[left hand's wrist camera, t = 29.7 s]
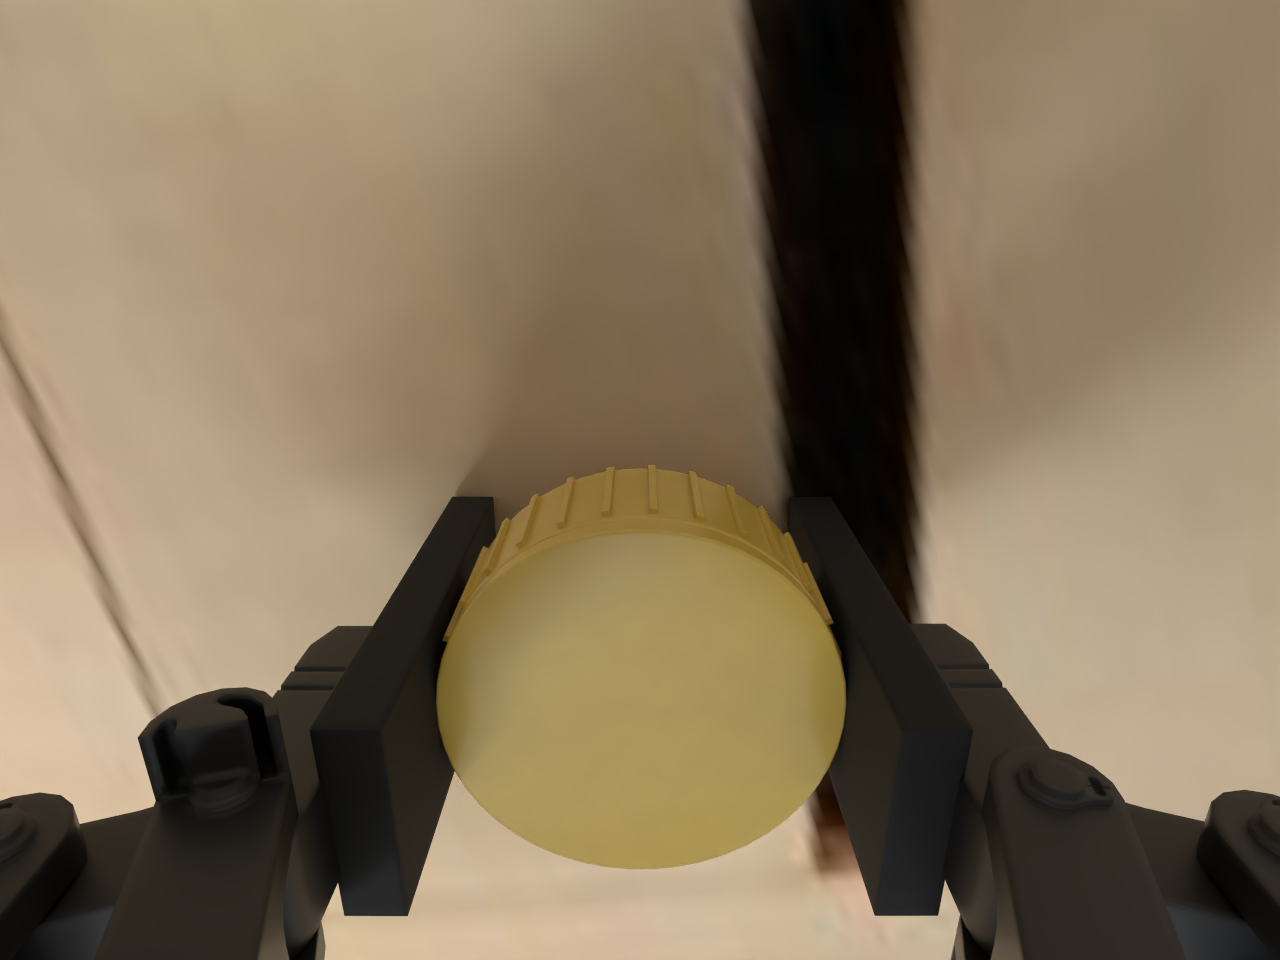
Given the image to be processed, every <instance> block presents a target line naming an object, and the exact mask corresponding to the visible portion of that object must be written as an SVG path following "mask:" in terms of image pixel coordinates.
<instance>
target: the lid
mask: <svg viewBox="0 0 1280 960" xmlns="http://www.w3.org/2000/svg"><path fill="white" fill-rule="evenodd" d="M830 624H833V620H832V618H831V616H830V614H829V611H828V609H827V607H826V605H825V602H824V600H823V598H822V596H821V593H820V591H819V589H818V587H817V584H816V582H815V580H814V578H813V575H812V573H811V571H810V569H809V566H808V564H807V562H806V563H803V562H802V559H801V557H800V555H799V553H798V550H797V548H796V546H795V543H794V541H793V539H792V536H791V535H790V534H789V532H786V533H785V534H783V533H782V532H781V530H780V529H779V528H778V526H777V525H776V524H775V523H774V522H773V521H772V520H770V518H769V515H768V513H767V510H766V508H764V507H763V506H762V505H761V506H760V507H759V508H757V507H756V506H754V505H753V504H752V503H750V502H749V501H748V500H746V499H745V498H744V497H742V496H740V495H738V494H736V493H735V490H734V487H733V486H731V485H729V484H728V485H727V486H726V487H724V486H722V485H719V484H716V483H714V482H711V481H709V480H706V479H704V478H701V477H697V474H696V472H694V471H689V473H688V474H685V473H681V472H677V471H670V470H661V469H656V468H655V465H648V468H629V469H620V470H614V467H613V466H612V467H607V468H606V471H604V472H600V473H597V474H593V475H589V476H585V477H581V478H578V479H576V480H575V478H574V477H573V476H572V477H569V478H567V481H566V484H563V485H560V486H558V487H556V488H555V489H553V490H551V491H549V492H547V493H545V494H544V495H542V496H540V497H539V495H538V494H535V495H534V496H532V497H531V500H530V503H529V505H527V506H526V507H525V508H523V509H522V510H521V511H520V512H519V513H518V514H516V515H515V516H514V517H513V518H512V519H511V520H509V519H508V518H505V520H504V521H503V522H502V524H501V527H500V529H499V532H498V534H497V536H496V538H495V539H494V540H493V542H492V543H491V545H490V546H489V548H486V547H483V548H482V550H481V552H480V554H479V556H478V559H477V561H476V563H475V566H474V568H473V570H472V573H471V575H470V577H469V579H468V582H467V584H466V586H465V589H464V591H463V593H462V596H461V598H460V600H459V602H458V605H457V607H456V609H455V612H454V614H453V616H452V619H451V621H450V623H449V626H448V628H447V630H446V632H445V635H444V638H443V641H444V642H447V645H446V647H445V650H444V653H443V655H442V658H441V662H440V667H439V672H438V677H437V683H436V710H437V718H438V727H439V730H440V734H441V738H442V741H443V745H444V748H445V751H446V753H447V755H448V757H449V760H450V762H451V764H452V766H453V769H454V770H455V772H456V773H457V775H458V776H459V778H460V780H461V781H462V783H463V784H464V786H465V788H466V789H467V790H468V791H469V792H470V794H471V795H472V796H473V797H474V798H475V800H476V801H477V802H478V803H479V804H480V805H481V806H482V807H483V808H484V809H485V810H486V811H487V812H488V813H489V814H490V815H491V816H493V817H494V818H495V819H496V820H497V821H498V822H500V823H501V824H502V825H504V826H505V827H507V828H508V829H509V830H511V831H512V832H514V833H515V834H517V835H518V836H520V837H522V838H524V839H525V840H527V841H529V842H531V843H533V844H534V845H536V846H538V847H541V848H543V849H546V850H548V851H550V852H553V853H555V854H557V855H560V856H563V857H567V858H570V859H573V860H576V861H580V862H584V863H589V864H594V865H599V866H604V867H614V868H624V869H658V868H668V867H678V866H683V865H688V864H693V863H698V862H702V861H705V860H709V859H712V858H715V857H718V856H721V855H725V854H727V853H729V852H732V851H734V850H736V849H739V848H741V847H743V846H746V845H748V844H749V843H751V842H753V841H755V840H756V839H758V838H760V837H762V836H763V835H765V834H767V833H768V832H770V831H771V830H772V829H774V828H775V827H777V826H778V825H779V824H781V823H782V822H783V821H785V820H786V819H787V818H788V817H789V816H790V815H791V814H793V813H794V812H795V811H796V810H797V809H798V808H799V807H800V806H801V805H802V804H803V803H804V802H805V801H806V799H807V798H808V797H809V796H810V795H811V793H812V792H813V791H814V790H815V789H816V787H817V786H818V784H819V783H820V781H821V780H822V778H823V776H824V775H825V773H826V772H827V770H828V769H829V766H830V764H831V762H832V760H833V757H834V755H835V753H836V751H837V749H838V745H839V742H840V738H841V734H842V731H843V727H844V721H845V712H846V704H847V700H846V680H845V675H844V670H843V665H842V660H841V655H842V654H841V651H840V649H839V647H838V644H837V642H836V640H835V638H834V635H833V633H832V631H831V628H830V626H829V625H830Z"/></svg>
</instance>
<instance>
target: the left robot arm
mask: <svg viewBox="0 0 1280 960" xmlns="http://www.w3.org/2000/svg"><path fill="white" fill-rule="evenodd" d="M788 532H789V534H790V535H791V536H792V539H793V541H794V543H795V546H796V548H797V550H798V553H799V555H800V557H801V559H802V562H803V563H806V562H807V564H808V566H809V569H810V571H811V573H812V575H813V578H814V580H815V582H816V584H817V587H818V589H819V591H820V593H821V596H822V598H823V600H824V602H825V605H826V607H827V609H828V611H829V614H830V616H831V618H832V620H833V624H830V625H829V626H830V628H831V631H832V633H833V635H834V638H835V640H836V642H837V644H838V647H839V649H840V651H841V654H842V655H841V660H842V665H843V670H844V675H845V680H846V700H847V704H846V712H845V721H844V727H843V731H842V734H841V738H840V742H839V745H838V749H837V751H836V753H835V755H834V757H833V760H832V762H831V764H830V766H829V769H828V772H829V775H830V778H831V781H832V784H833V787H834V791H835V794H836V797H837V800H838V803H839V806H840V809H841V812H842V815H843V819H844V822H845V825H846V828H847V831H848V834H849V837H850V840H851V843H852V846H853V850H854V853H855V856H856V859H857V862H858V865H859V868H860V871H861V874H862V878H863V881H864V884H865V887H866V890H867V893H868V896H869V899H870V902H871V905H872V909H873V912H874V915H875V916H938V913H939V908H940V902H941V897H942V892H943V887H944V882H945V880H946V883H947V885H948V887H949V890H950V892H951V894H952V896H953V899H954V901H955V903H956V905H957V908H958V910H959V912H960V918H959V922H958V927H957V932H956V937H955V942H954V947H953V952H952V956H951V960H1280V797H1279V796H1276V795H1273V794H1268V793H1261V792H1255V791H1248V790H1240V791H1232V792H1224V793H1222V794H1221V795H1220V796H1218V797H1217V798H1216V799H1215V800H1213V801H1212V802H1211V805H1210V808H1209V811H1208V813H1207V816H1206V819H1205V822H1204V821H1199V820H1195V819H1190V818H1186V817H1182V816H1177V815H1173V814H1168V813H1164V812H1159V811H1155V810H1150V809H1146V808H1142V807H1139V806H1135V805H1132V804H1129V803H1125V801H1124V799H1123V798H1122V796H1121V795H1120V793H1119V792H1118V790H1117V789H1116V787H1115V786H1114V784H1113V783H1112V782H1111V781H1110V780H1109V779H1108V778H1106V777H1105V776H1104V775H1103V774H1101V773H1100V772H1099V771H1098V770H1097V769H1095V768H1094V767H1093V766H1091V765H1089V764H1087V763H1085V762H1083V761H1081V760H1079V759H1077V758H1075V757H1073V756H1071V755H1069V754H1066V753H1063V752H1059V751H1056V750H1052V749H1050V748H1049V747H1048V745H1047V744H1046V743H1045V741H1044V740H1043V738H1042V737H1041V736H1040V734H1039V733H1038V732H1037V730H1036V729H1035V727H1034V726H1033V725H1032V723H1031V722H1030V721H1029V719H1028V718H1027V716H1026V715H1025V714H1024V712H1023V711H1022V710H1021V708H1020V707H1019V705H1018V704H1017V703H1016V701H1015V700H1014V699H1013V697H1012V696H1011V694H1010V693H1009V692H1008V690H1007V689H1006V688H1003V687H1002V682H1001V681H1000V679H999V678H998V677H997V675H996V674H995V673H994V671H993V670H992V669H989V664H988V663H987V662H986V660H985V659H984V657H983V656H982V655H981V653H980V652H979V651H978V649H977V648H976V646H975V645H974V644H973V643H972V642H971V641H970V640H968V639H967V638H965V637H964V636H962V635H961V634H959V633H958V632H957V631H955V630H954V629H952V628H951V627H949V626H948V625H946V624H908V622H907V621H906V619H905V617H904V616H903V614H902V612H901V611H900V609H899V608H898V606H897V604H896V603H895V601H894V599H893V598H892V596H891V594H890V593H889V591H888V590H887V588H886V586H885V585H884V583H883V581H882V580H881V578H880V577H879V575H878V573H877V572H876V570H875V568H874V567H873V565H872V564H871V562H870V560H869V559H868V557H867V555H866V554H865V552H864V550H863V549H862V547H861V546H860V544H859V542H858V541H857V539H856V537H855V536H854V534H853V533H852V531H851V529H850V528H849V526H848V524H847V523H846V521H845V519H844V518H843V516H842V515H841V513H840V511H839V510H838V508H837V506H836V505H835V503H834V502H833V500H832V498H831V497H790V506H789V519H788ZM495 538H496V534H495V520H494V507H493V497H452V498H451V500H450V502H449V503H448V505H447V506H446V508H445V510H444V511H443V513H442V515H441V516H440V518H439V520H438V521H437V523H436V524H435V526H434V528H433V529H432V531H431V533H430V534H429V536H428V537H427V539H426V541H425V542H424V544H423V546H422V547H421V549H420V550H419V552H418V554H417V555H416V557H415V559H414V560H413V562H412V563H411V565H410V567H409V568H408V570H407V572H406V573H405V575H404V577H403V578H402V580H401V581H400V583H399V585H398V586H397V588H396V590H395V591H394V593H393V594H392V596H391V598H390V599H389V601H388V603H387V604H386V606H385V607H384V609H383V611H382V612H381V614H380V616H379V617H378V619H377V620H376V622H375V624H374V625H373V626H337V627H336V628H334V629H333V630H332V631H330V632H329V633H327V634H326V635H324V636H323V637H321V638H320V639H319V640H317V641H316V642H314V643H313V644H311V645H310V647H309V648H308V649H307V651H306V652H305V653H304V655H303V656H302V658H301V659H300V660H299V662H298V663H297V665H296V666H295V670H294V672H291V673H290V674H289V676H288V677H287V678H286V680H285V681H284V682H283V684H282V685H281V690H278V691H277V692H276V694H275V695H274V696H273V698H272V697H271V696H269V695H268V694H267V693H266V692H264V691H260V690H255V689H251V688H247V687H244V688H225V689H219V690H215V691H211V692H207V693H203V694H199V695H196V696H193V697H191V698H189V699H187V700H185V701H182V702H180V703H178V704H176V705H173V706H171V707H170V708H168V709H167V710H166V711H164V712H163V713H161V714H160V715H159V716H157V717H156V718H154V719H153V720H152V721H150V723H149V724H148V725H147V726H146V728H145V729H144V730H143V732H142V733H141V734H140V735H139V737H138V741H139V744H140V747H141V751H142V754H143V758H144V761H145V765H146V768H147V772H148V775H149V778H150V782H151V785H152V789H153V792H154V796H155V799H156V802H155V805H154V807H151V808H147V809H144V810H141V811H136V812H132V813H127V814H123V815H119V816H114V817H110V818H105V819H101V820H96V821H92V822H87V823H83V824H79V821H78V818H77V815H76V813H75V810H74V807H73V804H71V803H70V802H69V801H68V800H66V799H65V798H64V797H62V796H61V795H55V794H47V793H34V794H28V795H21V796H15V797H10V798H8V799H5V800H2V801H0V960H324V956H325V940H324V933H323V927H322V922H321V920H322V918H323V915H324V913H325V911H326V908H327V906H328V904H329V902H330V899H331V897H332V895H333V892H334V890H335V888H336V886H337V883H338V884H339V889H340V895H341V900H342V905H343V910H344V916H408V913H409V910H410V907H411V904H412V901H413V898H414V895H415V892H416V889H417V886H418V882H419V879H420V876H421V873H422V870H423V867H424V864H425V861H426V858H427V855H428V851H429V848H430V845H431V842H432V839H433V836H434V833H435V830H436V827H437V824H438V821H439V817H440V814H441V811H442V808H443V805H444V802H445V799H446V796H447V793H448V790H449V787H450V783H451V780H452V777H453V774H454V771H455V770H454V769H453V766H452V764H451V762H450V760H449V757H448V755H447V753H446V751H445V748H444V745H443V741H442V738H441V734H440V730H439V727H438V718H437V710H436V683H437V677H438V672H439V667H440V662H441V658H442V655H443V653H444V650H445V647H446V645H447V642H444V641H443V638H444V635H445V632H446V630H447V628H448V626H449V623H450V621H451V619H452V616H453V614H454V612H455V609H456V607H457V605H458V602H459V600H460V598H461V596H462V593H463V591H464V589H465V586H466V584H467V582H468V579H469V577H470V575H471V573H472V570H473V568H474V566H475V563H476V561H477V559H478V556H479V554H480V552H481V550H482V548H483V547H486V548H489V546H490V545H491V543H492V542H493V540H494V539H495Z"/></svg>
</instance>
